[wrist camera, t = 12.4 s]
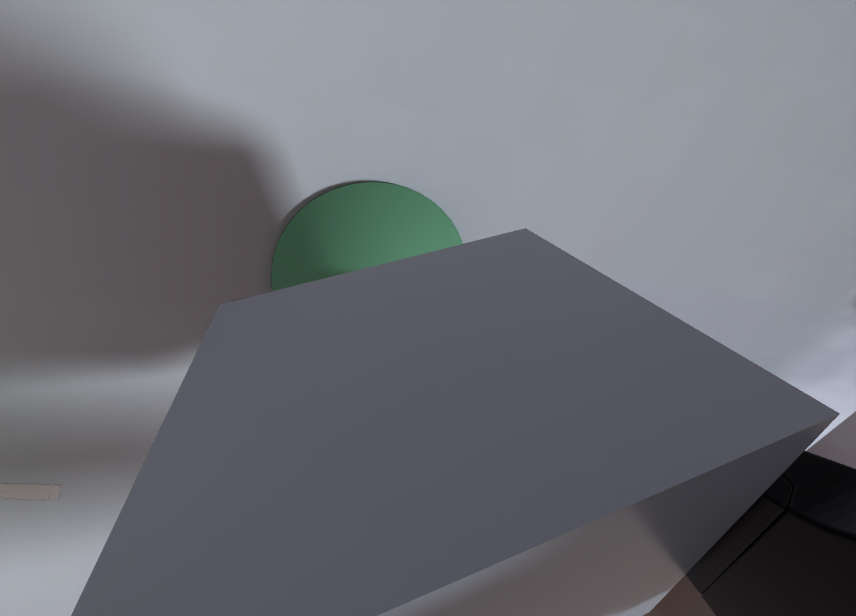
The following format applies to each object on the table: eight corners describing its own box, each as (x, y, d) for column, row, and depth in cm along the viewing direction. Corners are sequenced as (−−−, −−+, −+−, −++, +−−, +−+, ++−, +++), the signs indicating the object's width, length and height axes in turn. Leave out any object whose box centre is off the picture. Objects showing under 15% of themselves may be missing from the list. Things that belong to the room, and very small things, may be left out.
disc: (469, 329, 18) (471, 331, 18) (312, 377, 17) (312, 379, 17) (456, 162, 13) (458, 163, 13) (232, 207, 12) (231, 209, 12)
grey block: (516, 410, 13) (649, 611, 8) (325, 478, 12) (332, 773, 6) (525, 228, 8) (839, 413, 3) (219, 304, 7) (-10, 786, 2)
